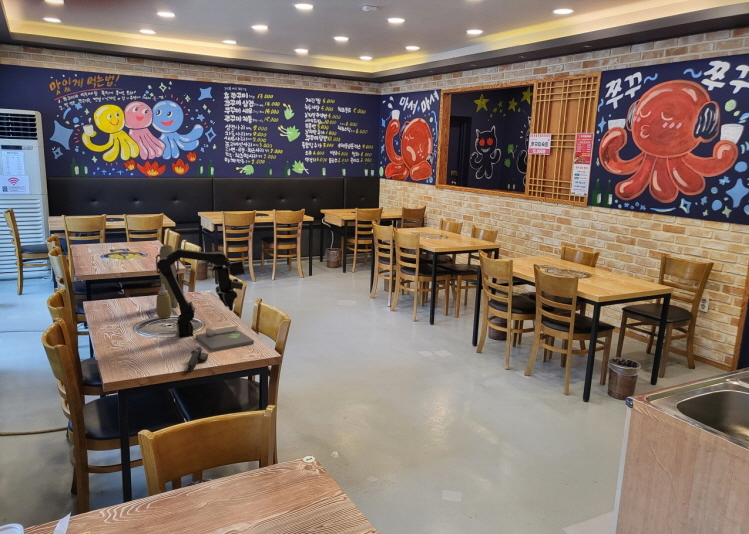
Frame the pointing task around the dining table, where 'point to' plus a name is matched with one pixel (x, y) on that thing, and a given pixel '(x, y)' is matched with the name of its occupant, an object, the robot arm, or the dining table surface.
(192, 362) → the can opener
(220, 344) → the board
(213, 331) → the dial lever
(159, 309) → the squeeze bottle
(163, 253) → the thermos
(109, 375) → the dining table surface
